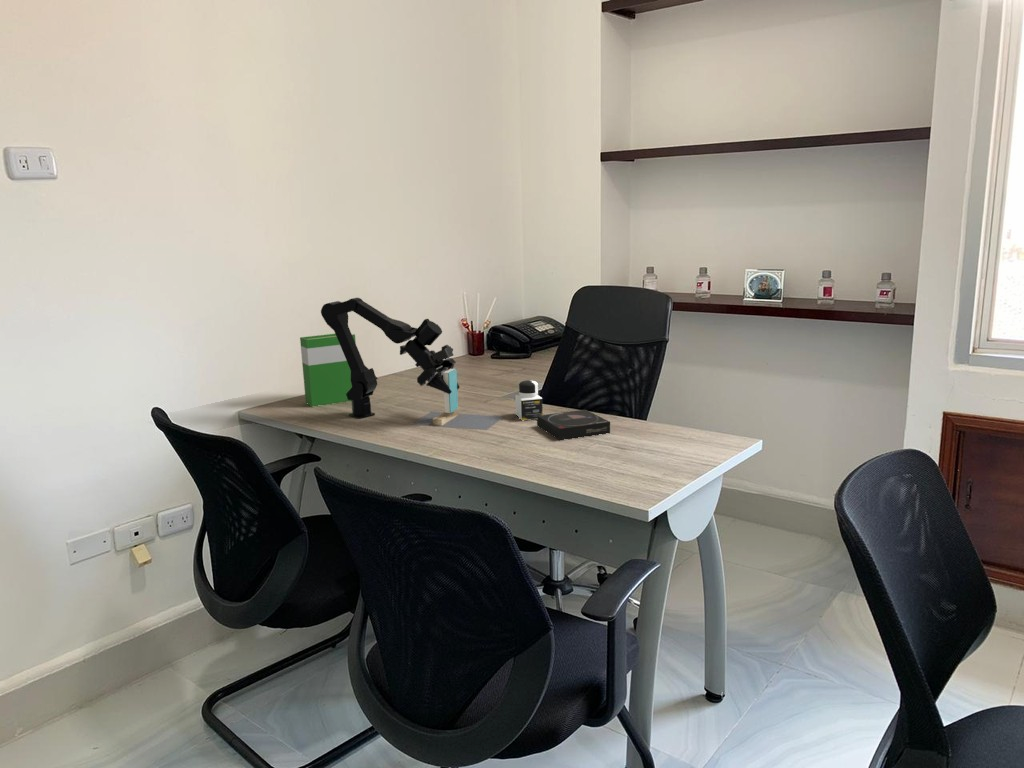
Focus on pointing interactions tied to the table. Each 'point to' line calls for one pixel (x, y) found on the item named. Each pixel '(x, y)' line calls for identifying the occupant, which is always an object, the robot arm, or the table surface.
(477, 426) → the mat
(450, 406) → the tile
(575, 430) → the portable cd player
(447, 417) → the ledge
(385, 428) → the table surface
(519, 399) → the medicine bottle
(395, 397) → the table surface
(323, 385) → the hardback book
